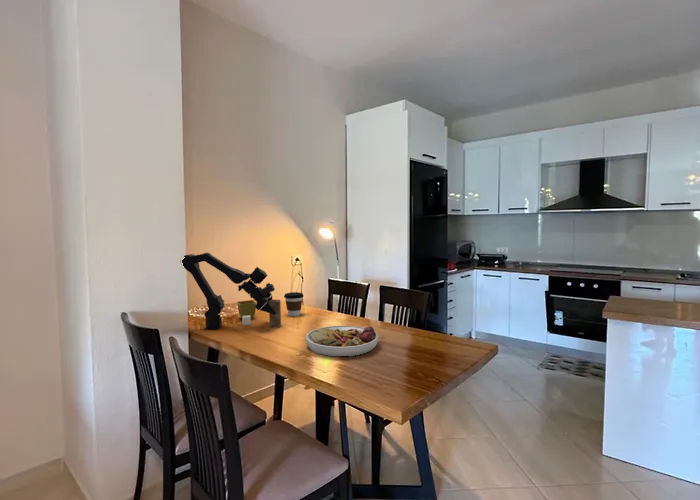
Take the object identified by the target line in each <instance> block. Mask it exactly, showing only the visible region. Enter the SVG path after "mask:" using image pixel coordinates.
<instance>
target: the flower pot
mask: <svg viewBox="0 0 700 500" xmlns="http://www.w3.org/2000/svg"><path fill="white" fill-rule="evenodd" d="M236 303H237V311H238V313H239V315H240V318H241V319H242V316H248V315H251V320H252V319H253V318H254V317H255V315H256V304H257V303H256V301H255V300H254V299H251V300H242V301H241V300H240V301H237V302H236Z"/></svg>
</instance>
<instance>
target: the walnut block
mask: <svg viewBox="0 0 700 500" xmlns="http://www.w3.org/2000/svg"><path fill="white" fill-rule="evenodd" d="M269 305H270V306H271V307H272V308H273V310H274V311H275V312H276V314H275V315H274V314H271V313H268V315H269V329H273V328H274V329H275V328H281V326H282V317H281V316H282V314H281V313H282V311H281V299H272V300H270V301H269Z"/></svg>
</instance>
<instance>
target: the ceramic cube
mask: <svg viewBox="0 0 700 500" xmlns="http://www.w3.org/2000/svg"><path fill="white" fill-rule="evenodd" d="M241 319H242V320H241V321H242V322H241V324H242V326H251V324H252V322H251V321H252V319H251V315H248V316H242V318H241Z"/></svg>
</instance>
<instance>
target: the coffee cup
mask: <svg viewBox="0 0 700 500" xmlns="http://www.w3.org/2000/svg"><path fill="white" fill-rule="evenodd" d="M283 298H284V299H285V304H286V305H285V306H286V310H287V314H288V316H289V317H298V316H300V315H301V311H302V307H303V306H302V305H303V298H304V293H303V292H298V291H297V292H296V291H294V292H286V293H285V294H284V296H283Z"/></svg>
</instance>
